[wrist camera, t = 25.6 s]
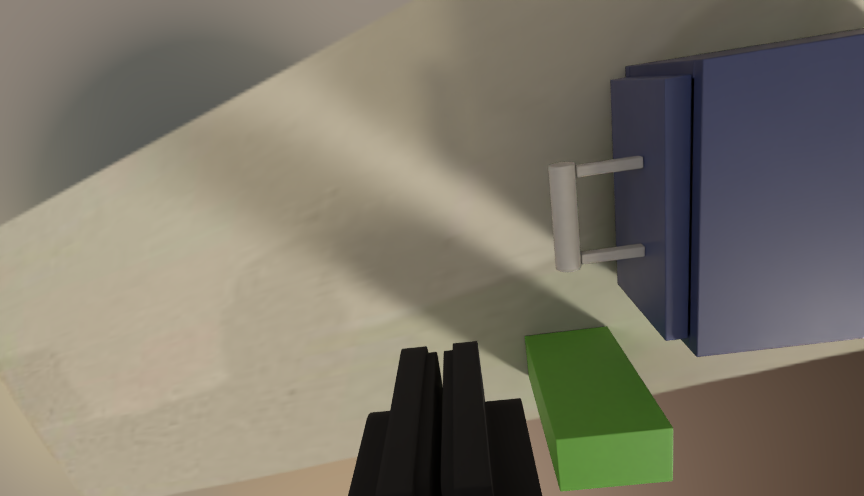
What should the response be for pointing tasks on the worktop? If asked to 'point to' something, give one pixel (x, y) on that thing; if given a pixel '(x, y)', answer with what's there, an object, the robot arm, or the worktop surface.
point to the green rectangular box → (597, 412)
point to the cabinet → (776, 193)
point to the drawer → (641, 198)
